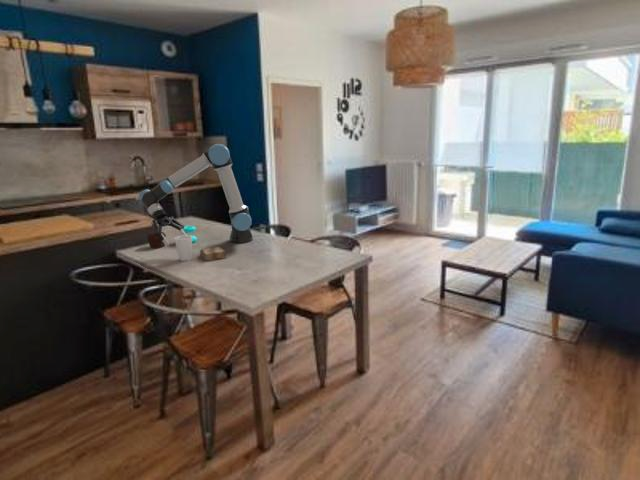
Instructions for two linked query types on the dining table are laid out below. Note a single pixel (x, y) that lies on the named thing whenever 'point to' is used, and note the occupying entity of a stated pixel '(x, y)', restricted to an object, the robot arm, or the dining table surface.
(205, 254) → the pedestal
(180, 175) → the robot arm
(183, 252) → the foam cup
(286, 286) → the dining table surface
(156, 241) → the muffin
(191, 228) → the donuts
